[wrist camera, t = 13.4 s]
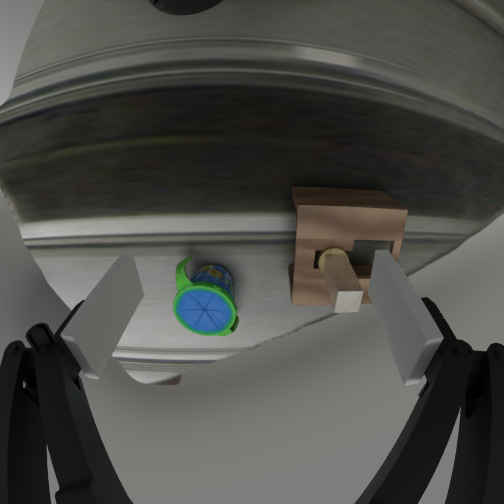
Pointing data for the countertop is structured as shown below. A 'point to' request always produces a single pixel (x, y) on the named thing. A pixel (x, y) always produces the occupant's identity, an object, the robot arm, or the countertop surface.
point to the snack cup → (205, 300)
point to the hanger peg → (340, 279)
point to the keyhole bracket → (339, 234)
